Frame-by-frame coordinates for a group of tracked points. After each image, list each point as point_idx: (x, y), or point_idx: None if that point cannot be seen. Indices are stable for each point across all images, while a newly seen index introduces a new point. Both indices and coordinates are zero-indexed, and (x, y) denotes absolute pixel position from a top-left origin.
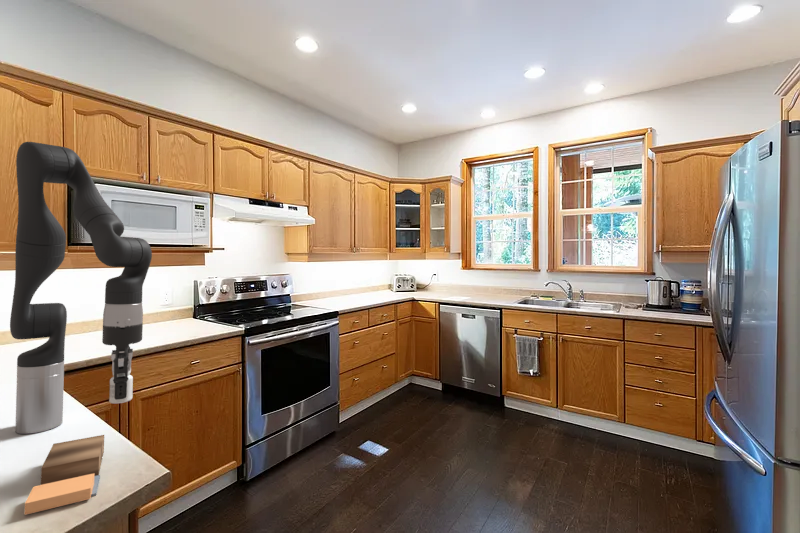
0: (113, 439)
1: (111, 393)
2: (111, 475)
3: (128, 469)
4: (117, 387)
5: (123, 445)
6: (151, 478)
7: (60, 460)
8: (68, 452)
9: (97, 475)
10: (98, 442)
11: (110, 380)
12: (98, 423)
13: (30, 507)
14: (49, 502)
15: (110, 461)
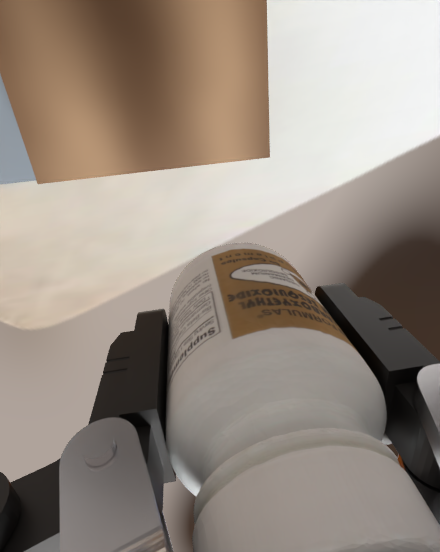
0: (348, 161)
1: (192, 297)
2: (52, 209)
3: (81, 248)
4: (97, 406)
5: (275, 203)
6: (4, 313)
7: (32, 24)
8: (119, 40)
9: None
10: (191, 150)
11: (234, 366)
12: None
13: None
14: None
15: (160, 186)
